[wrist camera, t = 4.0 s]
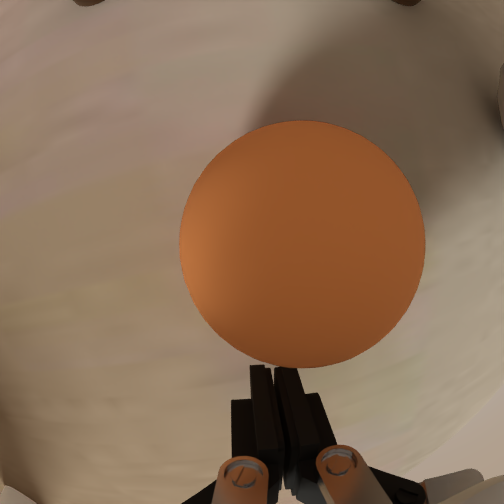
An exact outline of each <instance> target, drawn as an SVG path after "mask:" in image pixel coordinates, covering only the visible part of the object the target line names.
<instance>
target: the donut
mask: <svg viewBox="0 0 504 504" xmlns="http://www.w3.org/2000/svg"><path fill="white" fill-rule="evenodd" d="M497 100H498V106H499V111H500V117H501V123H502V127H503V129H504V64H503V65H502V67H501V70H500V79H499V86H498V93H497Z"/></svg>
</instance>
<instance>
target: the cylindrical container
mask: <svg viewBox="0 0 504 504" xmlns="http://www.w3.org/2000/svg"><path fill="white" fill-rule="evenodd" d="M0 504H37V503H36V502H34V501H33V500H31V499H30V498H28V497H27V496H25V495H24V494H22V493H21V492H19V491H17V490H16V489H14V488H12V487H10V486H8V485H5V486H4V488H3V490H2V492H1V494H0Z"/></svg>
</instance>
